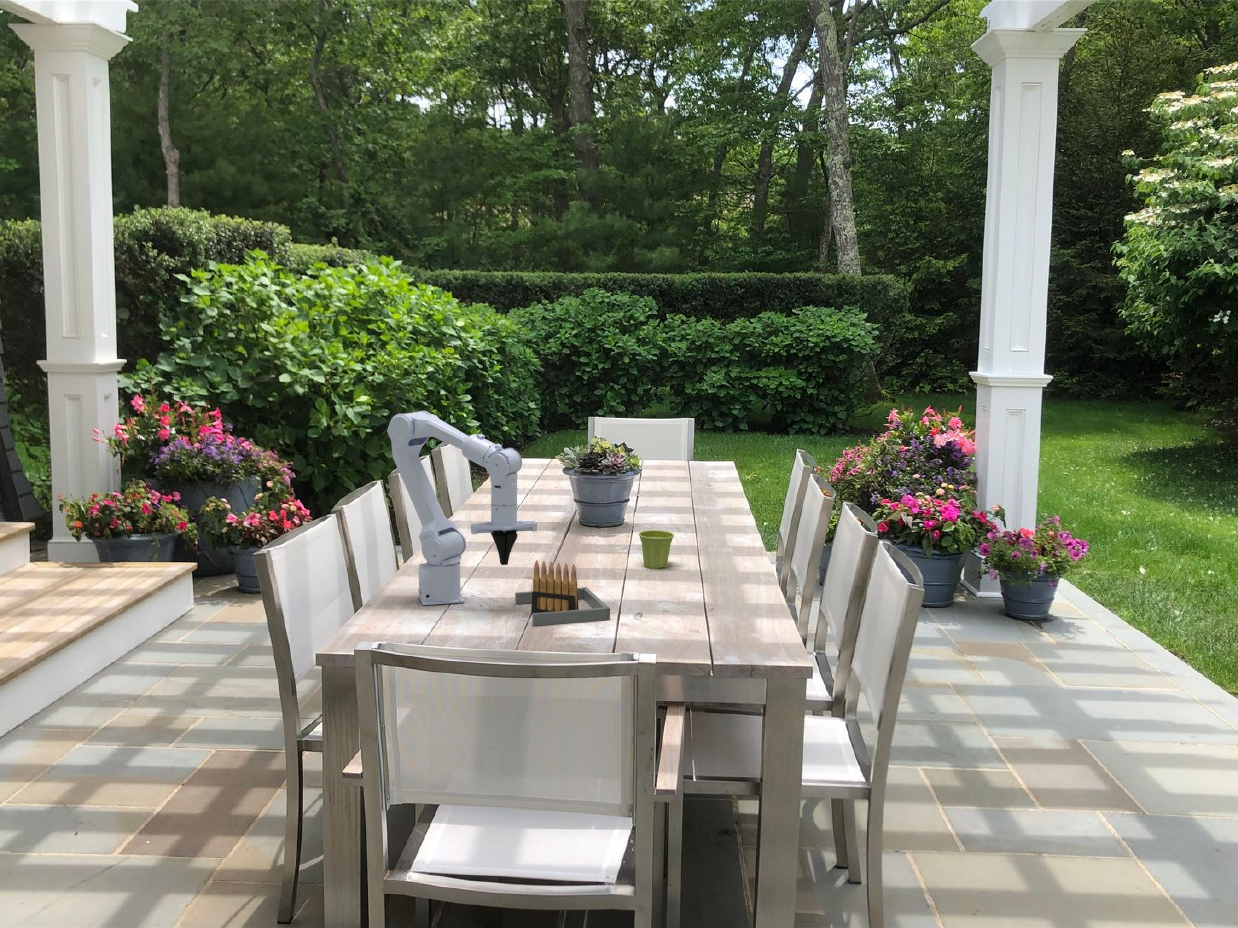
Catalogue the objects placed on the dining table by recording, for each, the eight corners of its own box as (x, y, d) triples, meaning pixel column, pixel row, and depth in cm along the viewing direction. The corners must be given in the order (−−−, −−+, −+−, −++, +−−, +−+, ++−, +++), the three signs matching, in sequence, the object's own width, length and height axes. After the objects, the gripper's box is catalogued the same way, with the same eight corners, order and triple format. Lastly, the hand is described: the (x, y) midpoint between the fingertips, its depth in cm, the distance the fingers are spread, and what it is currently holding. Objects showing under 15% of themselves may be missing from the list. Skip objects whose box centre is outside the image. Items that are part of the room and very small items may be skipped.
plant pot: (674, 562, 277) (675, 530, 275) (672, 571, 267) (673, 538, 266) (639, 561, 278) (640, 529, 276) (636, 569, 268) (637, 537, 267)
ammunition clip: (530, 613, 229) (531, 560, 227) (534, 611, 231) (534, 558, 229) (575, 618, 226) (576, 565, 224) (578, 616, 227) (579, 563, 226)
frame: (533, 626, 220) (533, 614, 219) (515, 603, 237) (515, 592, 236) (609, 619, 225) (610, 608, 225) (586, 597, 242) (586, 587, 242)
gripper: (474, 508, 223) (474, 570, 225) (540, 506, 227) (539, 566, 229) (469, 502, 229) (469, 562, 231) (533, 500, 234) (532, 558, 236)
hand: (503, 563), depth 231 cm, fingers closed
